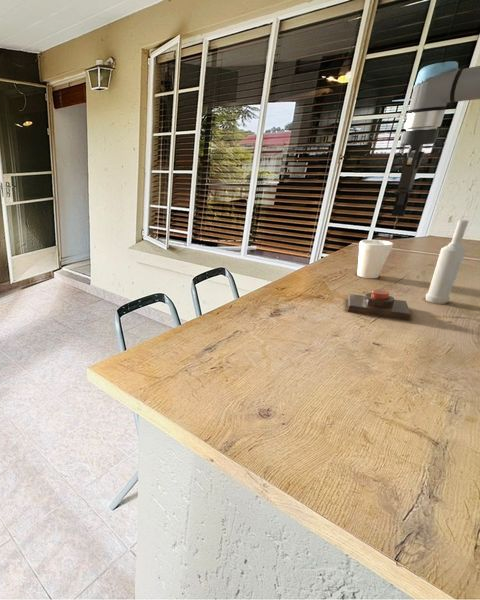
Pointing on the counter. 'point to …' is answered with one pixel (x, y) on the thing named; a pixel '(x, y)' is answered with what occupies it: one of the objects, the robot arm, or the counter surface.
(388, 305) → the control block
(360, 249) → the foam cup
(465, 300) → the counter surface
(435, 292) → the bottle
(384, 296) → the press knob
